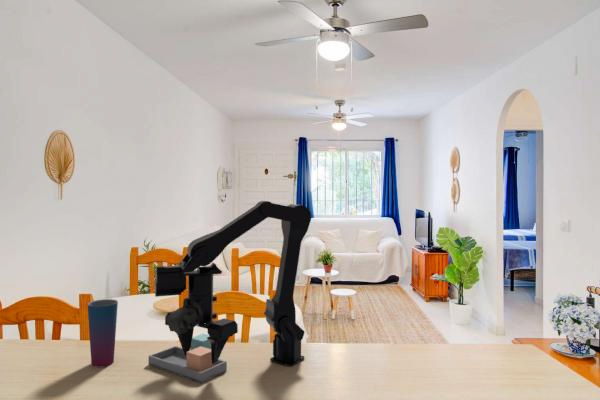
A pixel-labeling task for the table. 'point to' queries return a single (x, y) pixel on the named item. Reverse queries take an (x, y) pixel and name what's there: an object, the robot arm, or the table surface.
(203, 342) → the teal block
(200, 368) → the terracotta block
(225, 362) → the tray
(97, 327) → the cup
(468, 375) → the table surface
